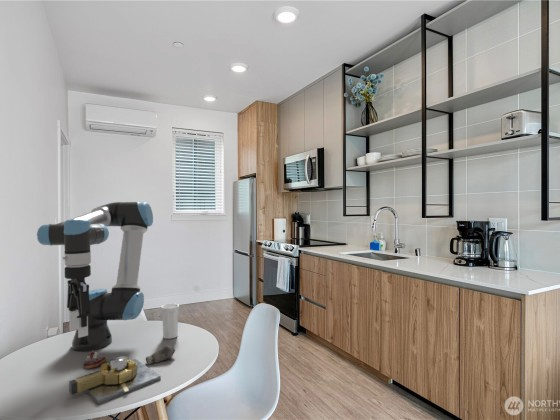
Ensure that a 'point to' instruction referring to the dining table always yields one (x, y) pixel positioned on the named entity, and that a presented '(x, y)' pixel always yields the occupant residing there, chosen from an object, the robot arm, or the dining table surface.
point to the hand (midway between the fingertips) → (78, 332)
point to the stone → (161, 354)
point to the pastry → (94, 360)
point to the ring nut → (104, 377)
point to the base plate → (114, 390)
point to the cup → (170, 320)
